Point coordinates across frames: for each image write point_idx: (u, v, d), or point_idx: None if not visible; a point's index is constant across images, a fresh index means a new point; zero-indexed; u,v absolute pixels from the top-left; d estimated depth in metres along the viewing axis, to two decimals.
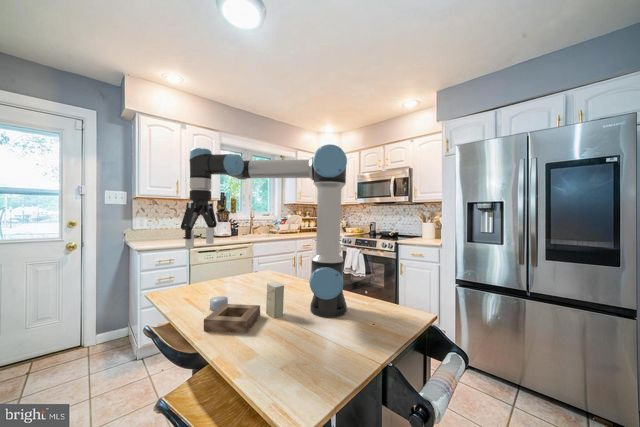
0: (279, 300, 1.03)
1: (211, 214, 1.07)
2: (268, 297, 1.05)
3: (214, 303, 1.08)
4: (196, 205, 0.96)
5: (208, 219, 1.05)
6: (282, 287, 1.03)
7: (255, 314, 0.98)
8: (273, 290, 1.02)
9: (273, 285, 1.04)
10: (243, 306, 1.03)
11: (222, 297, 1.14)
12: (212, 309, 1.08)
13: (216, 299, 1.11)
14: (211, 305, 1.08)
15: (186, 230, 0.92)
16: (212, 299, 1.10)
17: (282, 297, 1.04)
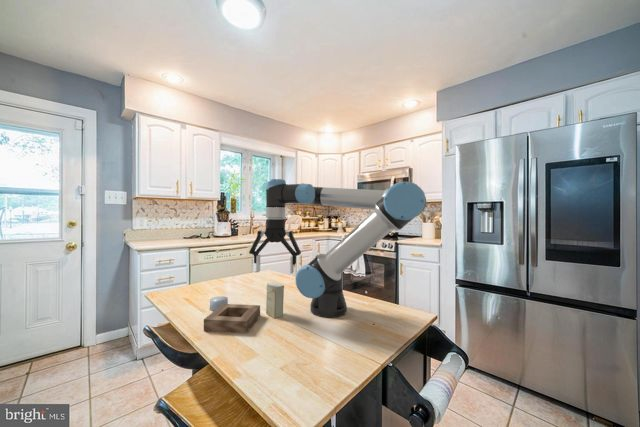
0: (279, 300, 1.03)
1: None
2: (268, 297, 1.05)
3: (214, 303, 1.08)
4: (264, 233, 1.04)
5: None
6: (282, 287, 1.03)
7: (255, 314, 0.98)
8: (273, 290, 1.02)
9: (273, 285, 1.04)
10: (243, 306, 1.03)
11: (222, 297, 1.14)
12: (212, 309, 1.08)
13: (216, 299, 1.11)
14: (211, 305, 1.08)
15: None
16: (212, 299, 1.10)
17: (282, 297, 1.04)
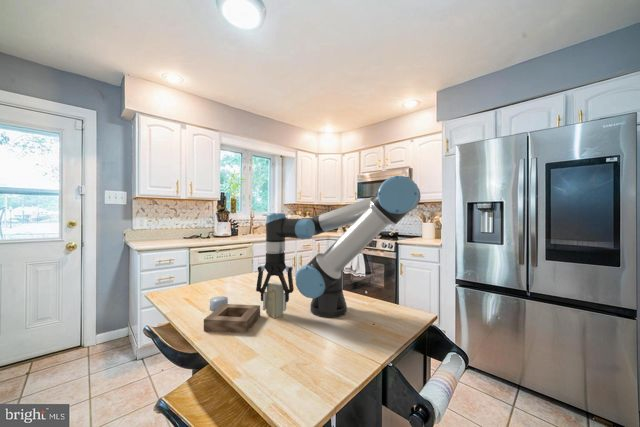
0: (279, 300, 1.03)
1: None
2: (268, 297, 1.05)
3: (214, 303, 1.08)
4: (265, 267, 1.04)
5: None
6: (282, 287, 1.03)
7: (255, 314, 0.98)
8: (273, 290, 1.02)
9: (273, 285, 1.04)
10: (243, 306, 1.03)
11: (222, 297, 1.14)
12: (212, 309, 1.08)
13: (216, 299, 1.11)
14: (211, 305, 1.08)
15: None
16: (212, 299, 1.10)
17: (282, 297, 1.04)
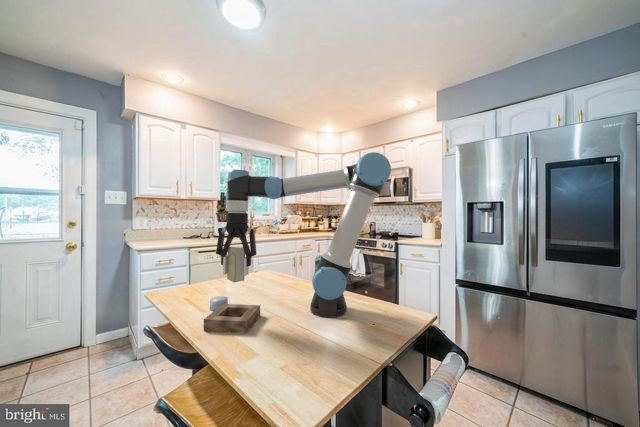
0: (240, 263, 0.96)
1: None
2: (229, 261, 0.97)
3: (214, 303, 1.08)
4: (225, 228, 0.97)
5: None
6: (243, 250, 0.96)
7: (255, 314, 0.98)
8: (233, 252, 0.95)
9: (234, 247, 0.96)
10: (243, 306, 1.03)
11: (222, 297, 1.14)
12: (212, 309, 1.08)
13: (216, 299, 1.11)
14: (211, 305, 1.08)
15: None
16: (212, 299, 1.10)
17: (243, 260, 0.96)
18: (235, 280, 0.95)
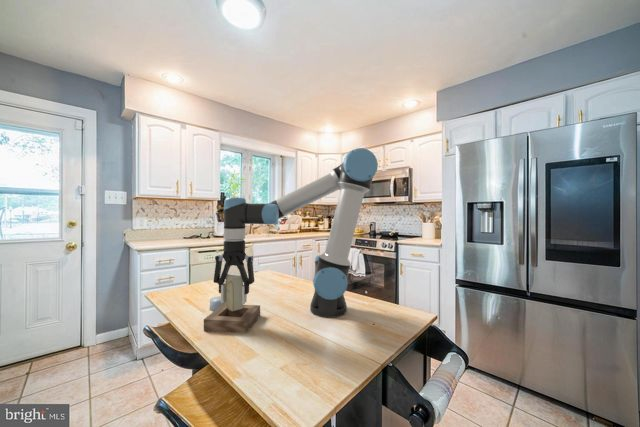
0: (238, 291, 0.95)
1: None
2: (226, 289, 0.97)
3: (214, 303, 1.08)
4: (223, 256, 0.96)
5: None
6: (241, 278, 0.96)
7: (255, 314, 0.98)
8: (231, 281, 0.94)
9: (231, 276, 0.96)
10: (243, 306, 1.03)
11: None
12: (212, 309, 1.08)
13: (216, 299, 1.11)
14: (211, 305, 1.08)
15: None
16: (212, 299, 1.10)
17: (241, 288, 0.96)
18: (233, 309, 0.94)
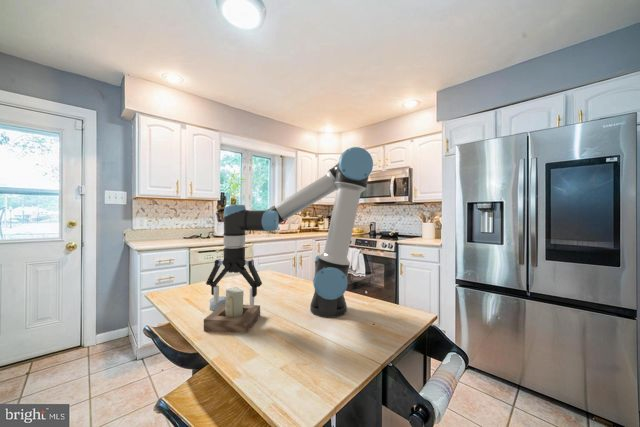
0: (238, 307, 0.95)
1: None
2: (227, 304, 0.97)
3: None
4: None
5: None
6: (241, 293, 0.96)
7: (255, 314, 0.98)
8: (231, 296, 0.94)
9: (231, 291, 0.96)
10: (243, 306, 1.03)
11: (222, 297, 1.14)
12: (212, 309, 1.08)
13: None
14: (211, 305, 1.08)
15: None
16: (212, 299, 1.10)
17: (241, 304, 0.96)
18: None
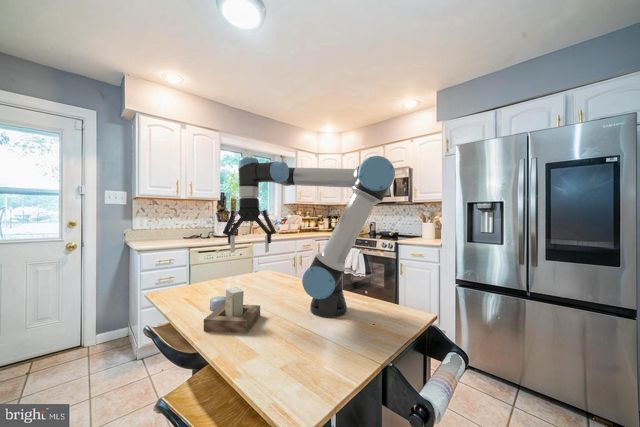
0: (238, 307, 0.95)
1: None
2: (227, 304, 0.97)
3: (214, 303, 1.08)
4: (238, 213, 1.03)
5: None
6: (241, 293, 0.96)
7: (255, 314, 0.98)
8: (231, 296, 0.94)
9: (232, 291, 0.96)
10: (243, 306, 1.03)
11: (222, 297, 1.14)
12: (212, 309, 1.08)
13: (216, 299, 1.11)
14: (211, 305, 1.08)
15: None
16: (212, 299, 1.10)
17: (241, 304, 0.96)
18: None
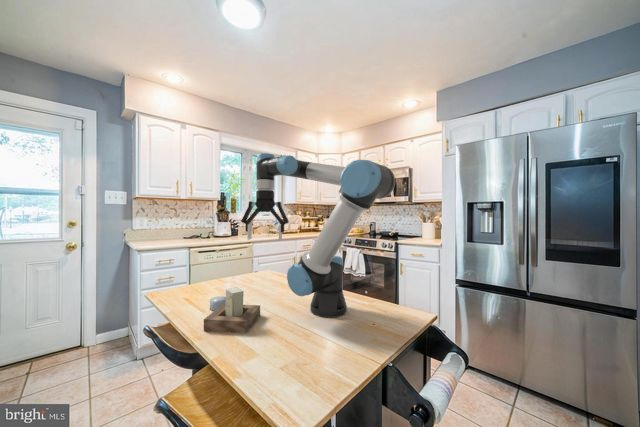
0: (238, 307, 0.95)
1: None
2: (227, 304, 0.97)
3: (214, 303, 1.08)
4: (255, 203, 1.13)
5: None
6: (241, 293, 0.96)
7: (255, 314, 0.98)
8: (231, 296, 0.94)
9: (231, 291, 0.96)
10: (243, 306, 1.03)
11: (222, 297, 1.14)
12: (212, 309, 1.08)
13: (216, 299, 1.11)
14: (211, 305, 1.08)
15: None
16: (212, 299, 1.10)
17: (241, 304, 0.96)
18: None
